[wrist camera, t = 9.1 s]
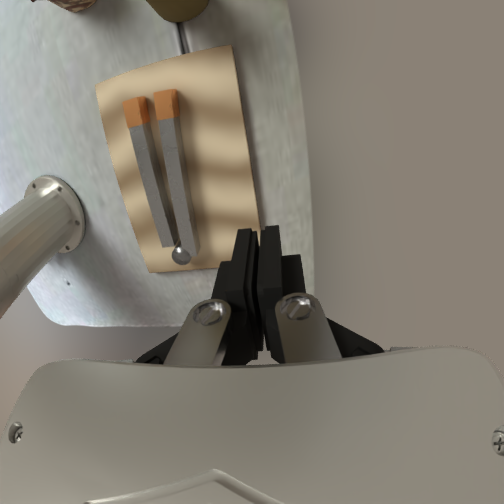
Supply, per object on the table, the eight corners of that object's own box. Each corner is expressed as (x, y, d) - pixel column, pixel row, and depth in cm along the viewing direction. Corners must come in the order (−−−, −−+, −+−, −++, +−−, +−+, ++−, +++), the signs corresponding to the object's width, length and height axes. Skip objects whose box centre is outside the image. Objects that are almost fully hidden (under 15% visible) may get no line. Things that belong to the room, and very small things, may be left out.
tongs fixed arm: (180, 237, 35) (175, 246, 33) (166, 239, 35) (161, 248, 33) (145, 96, 26) (137, 96, 24) (130, 100, 26) (122, 101, 24)
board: (264, 258, 37) (264, 263, 36) (152, 267, 39) (149, 272, 38) (232, 46, 24) (230, 44, 23) (100, 84, 26) (94, 84, 25)
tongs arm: (203, 255, 36) (199, 265, 34) (178, 256, 36) (173, 265, 34) (176, 88, 25) (170, 89, 23) (147, 94, 25) (139, 95, 24)
